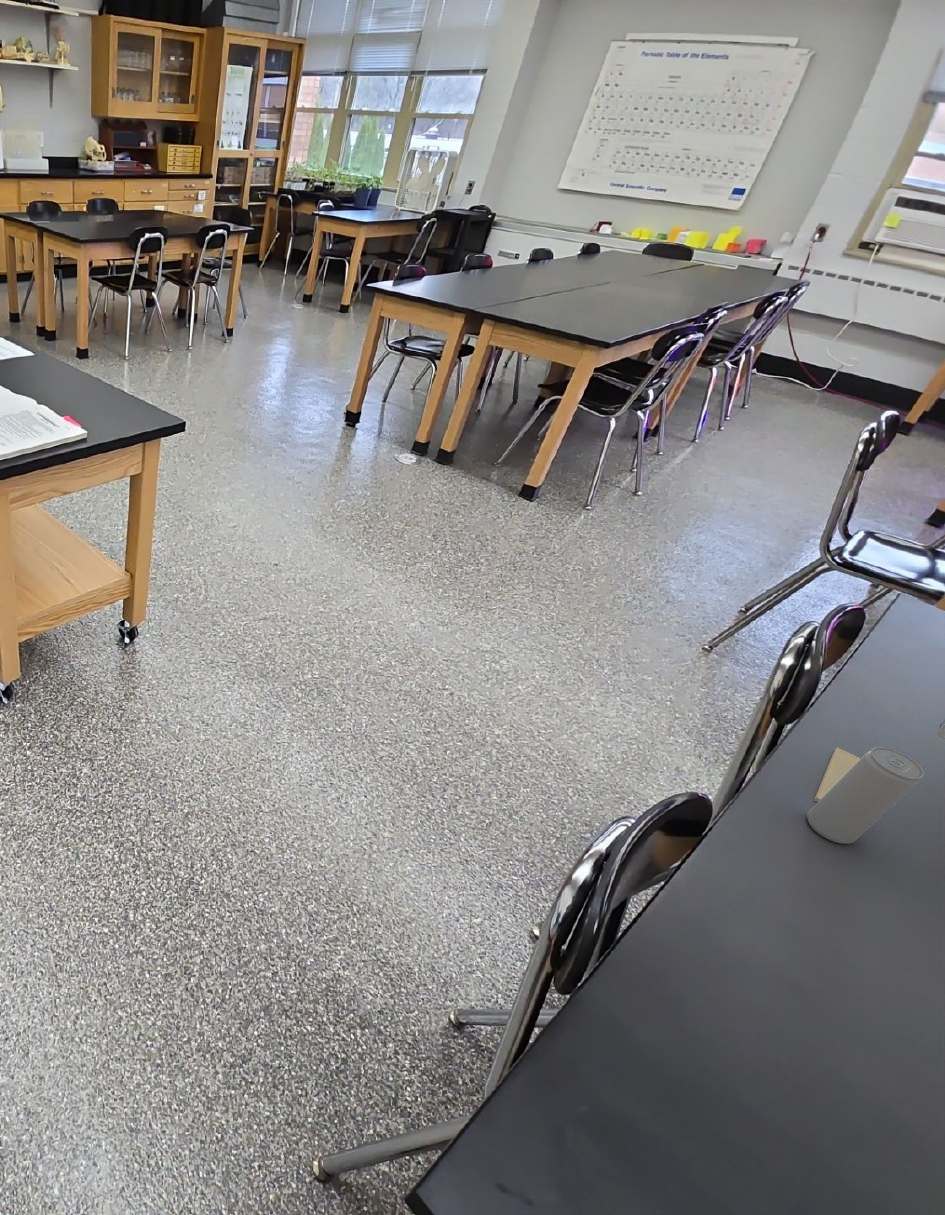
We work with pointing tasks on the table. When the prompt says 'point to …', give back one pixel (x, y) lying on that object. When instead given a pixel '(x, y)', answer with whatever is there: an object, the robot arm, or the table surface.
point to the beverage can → (864, 795)
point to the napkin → (835, 771)
